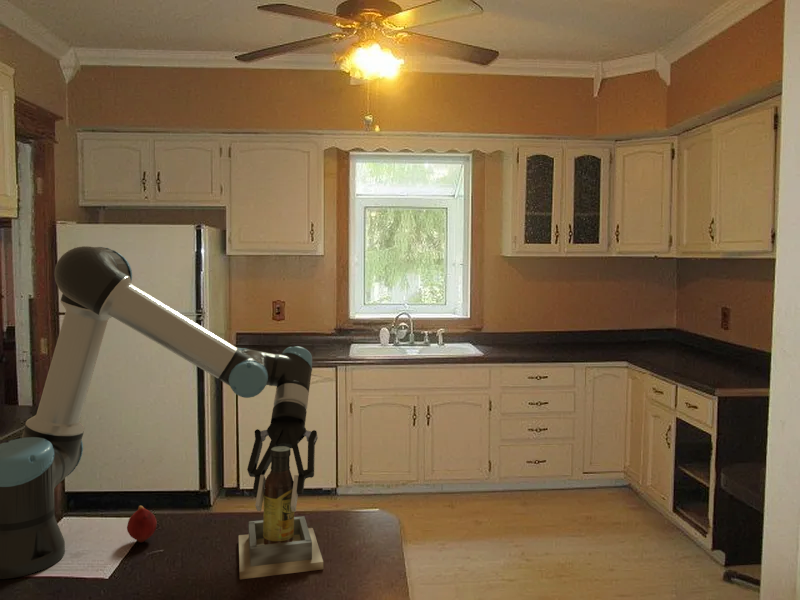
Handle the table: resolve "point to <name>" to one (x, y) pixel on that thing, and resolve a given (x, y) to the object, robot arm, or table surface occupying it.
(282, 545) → the bottle holder
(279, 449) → the sauce bottle
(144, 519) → the onion
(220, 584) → the table surface
